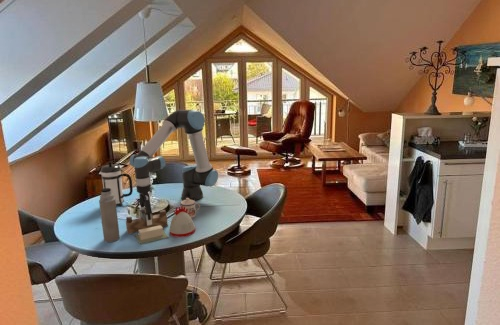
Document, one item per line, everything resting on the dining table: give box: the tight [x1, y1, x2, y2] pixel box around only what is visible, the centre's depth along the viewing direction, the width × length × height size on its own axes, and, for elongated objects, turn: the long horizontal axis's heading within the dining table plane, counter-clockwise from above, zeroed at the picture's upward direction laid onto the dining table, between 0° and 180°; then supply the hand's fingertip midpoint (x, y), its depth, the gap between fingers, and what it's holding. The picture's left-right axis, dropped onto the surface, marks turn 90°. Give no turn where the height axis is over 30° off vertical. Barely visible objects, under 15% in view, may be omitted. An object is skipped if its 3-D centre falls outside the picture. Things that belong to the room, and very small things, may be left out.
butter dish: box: [134, 225, 169, 245], centre depth 200 cm, size 15×12×5 cm
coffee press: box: [98, 161, 134, 207], centre depth 250 cm, size 17×16×30 cm
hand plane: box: [125, 209, 169, 235], centre depth 211 cm, size 22×5×8 cm, turn 119°
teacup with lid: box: [180, 198, 201, 219], centre depth 228 cm, size 12×9×12 cm
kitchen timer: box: [169, 205, 196, 238], centre depth 205 cm, size 14×14×15 cm
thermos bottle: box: [98, 188, 121, 243], centre depth 196 cm, size 8×8×28 cm
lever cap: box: [139, 208, 153, 222], centre depth 210 cm, size 5×8×6 cm, turn 29°
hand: (146, 221), depth 211 cm, fingers open, 12 cm apart
